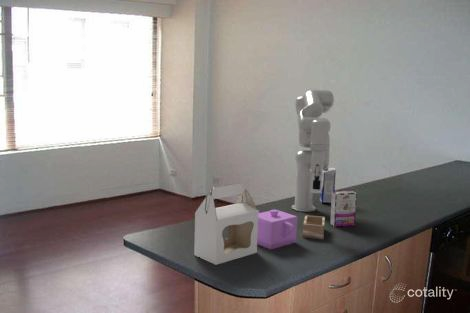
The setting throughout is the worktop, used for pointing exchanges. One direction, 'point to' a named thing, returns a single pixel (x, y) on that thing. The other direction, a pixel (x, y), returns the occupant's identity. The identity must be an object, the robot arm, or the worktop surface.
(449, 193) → the worktop surface
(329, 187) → the milk carton
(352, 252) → the worktop surface
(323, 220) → the open wooden box
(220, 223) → the gable box
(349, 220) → the candy bar box
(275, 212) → the teapot
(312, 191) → the brushed metal block
